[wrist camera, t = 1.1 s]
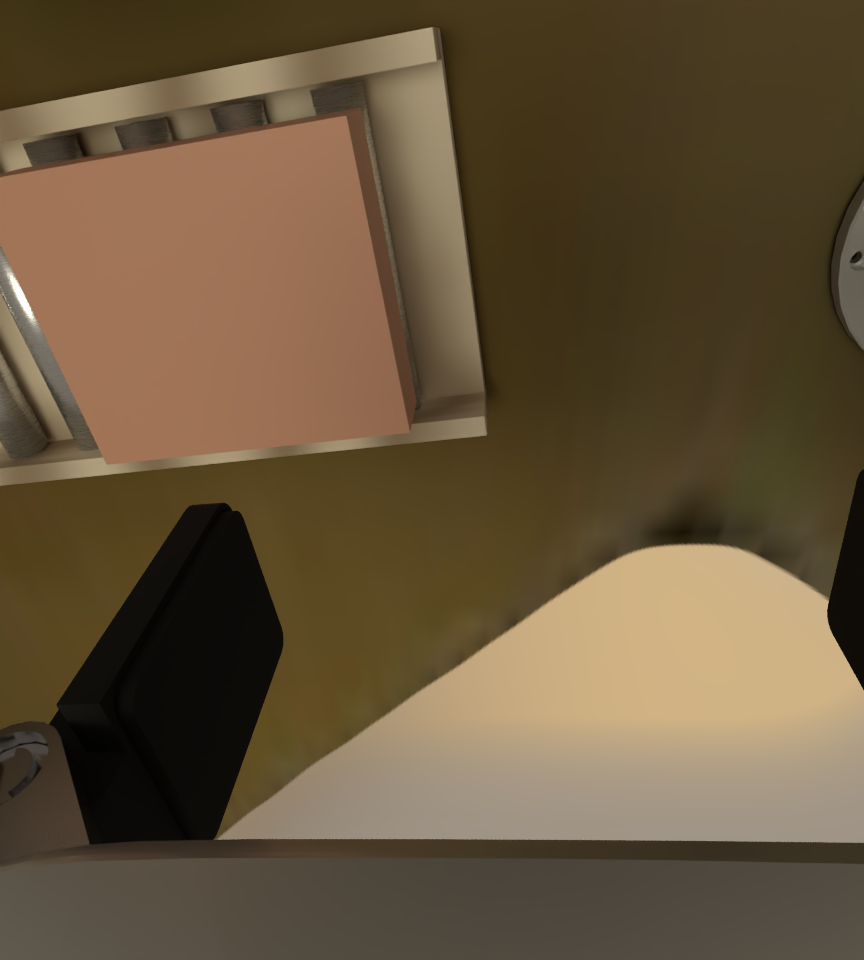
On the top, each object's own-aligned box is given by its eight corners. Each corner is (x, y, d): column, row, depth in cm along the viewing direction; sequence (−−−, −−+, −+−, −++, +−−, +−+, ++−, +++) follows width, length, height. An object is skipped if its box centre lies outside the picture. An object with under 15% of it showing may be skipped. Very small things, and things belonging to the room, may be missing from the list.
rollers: (365, 79, 26) (356, 82, 25) (423, 395, 34) (420, 414, 32) (-204, 185, 30) (-245, 193, 29) (-43, 448, 37) (-68, 467, 36)
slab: (361, 107, 25) (346, 115, 23) (416, 400, 31) (409, 432, 29) (18, 168, 27) (-30, 182, 25) (135, 432, 33) (106, 464, 31)
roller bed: (439, 28, 27) (432, 27, 23) (487, 397, 35) (486, 435, 32) (-249, 161, 31) (-337, 176, 28) (-61, 458, 40) (-112, 497, 36)
